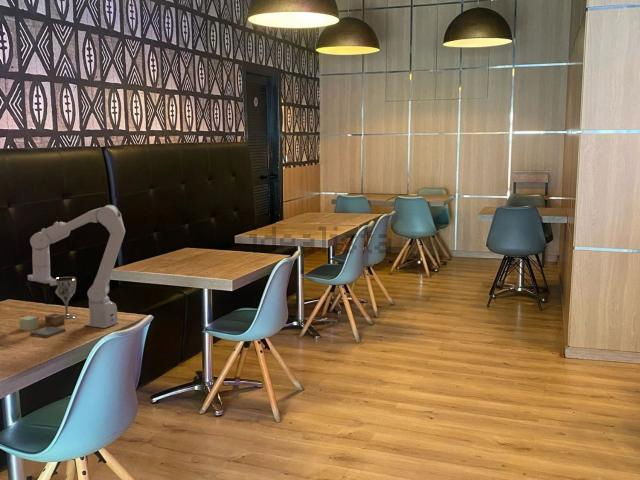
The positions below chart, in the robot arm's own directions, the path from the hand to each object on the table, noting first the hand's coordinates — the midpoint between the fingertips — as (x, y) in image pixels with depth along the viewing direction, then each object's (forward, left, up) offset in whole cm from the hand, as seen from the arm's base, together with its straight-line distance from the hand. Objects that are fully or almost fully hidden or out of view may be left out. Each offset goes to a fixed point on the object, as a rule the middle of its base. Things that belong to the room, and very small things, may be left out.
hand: (42, 302), depth 228 cm
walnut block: (-3, -3, -9) cm, 10 cm away
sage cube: (+3, +3, -9) cm, 10 cm away
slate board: (-8, +5, -9) cm, 13 cm away
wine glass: (+2, -14, -9) cm, 17 cm away
